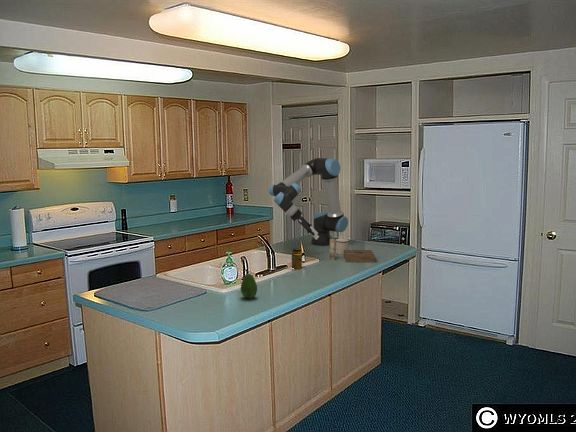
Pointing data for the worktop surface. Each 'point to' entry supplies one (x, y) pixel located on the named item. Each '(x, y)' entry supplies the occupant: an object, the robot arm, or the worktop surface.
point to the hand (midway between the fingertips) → (317, 236)
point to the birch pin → (332, 249)
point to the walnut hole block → (359, 256)
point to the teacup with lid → (341, 245)
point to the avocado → (248, 286)
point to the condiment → (297, 259)
